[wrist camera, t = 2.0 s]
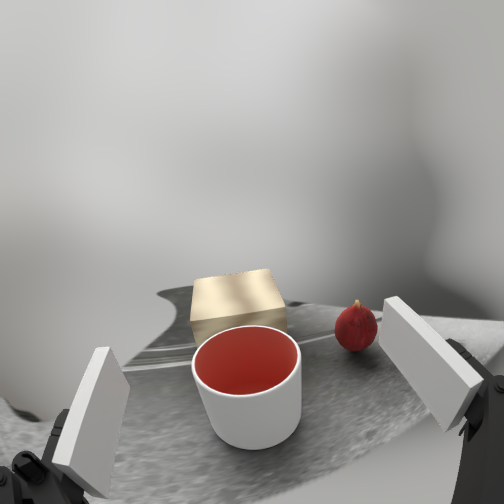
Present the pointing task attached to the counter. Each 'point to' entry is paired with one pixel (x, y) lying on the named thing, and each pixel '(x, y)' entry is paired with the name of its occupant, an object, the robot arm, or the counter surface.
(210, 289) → the block top
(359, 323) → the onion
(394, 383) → the counter surface
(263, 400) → the cup
